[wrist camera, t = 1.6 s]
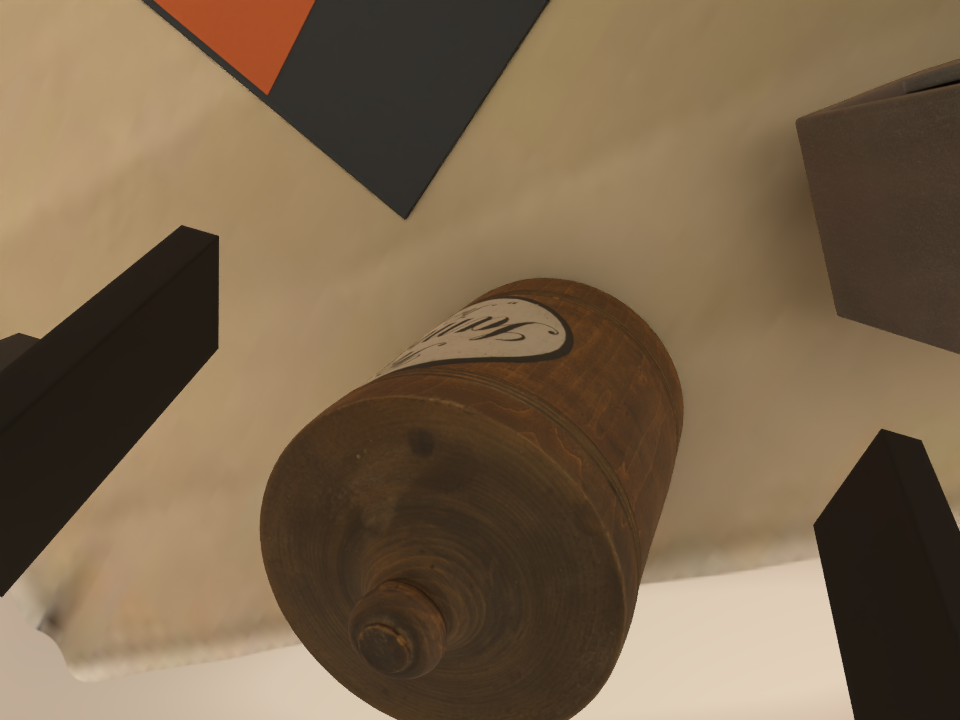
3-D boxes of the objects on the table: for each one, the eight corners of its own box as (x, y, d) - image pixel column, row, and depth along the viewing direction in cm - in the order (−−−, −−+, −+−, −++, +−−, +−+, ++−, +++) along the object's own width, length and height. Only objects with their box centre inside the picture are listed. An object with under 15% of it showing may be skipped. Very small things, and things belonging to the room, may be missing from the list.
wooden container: (550, 219, 41) (353, 345, 21) (742, 421, 41) (724, 732, 21) (386, 385, 47) (122, 597, 28) (551, 558, 47) (403, 890, 28)
